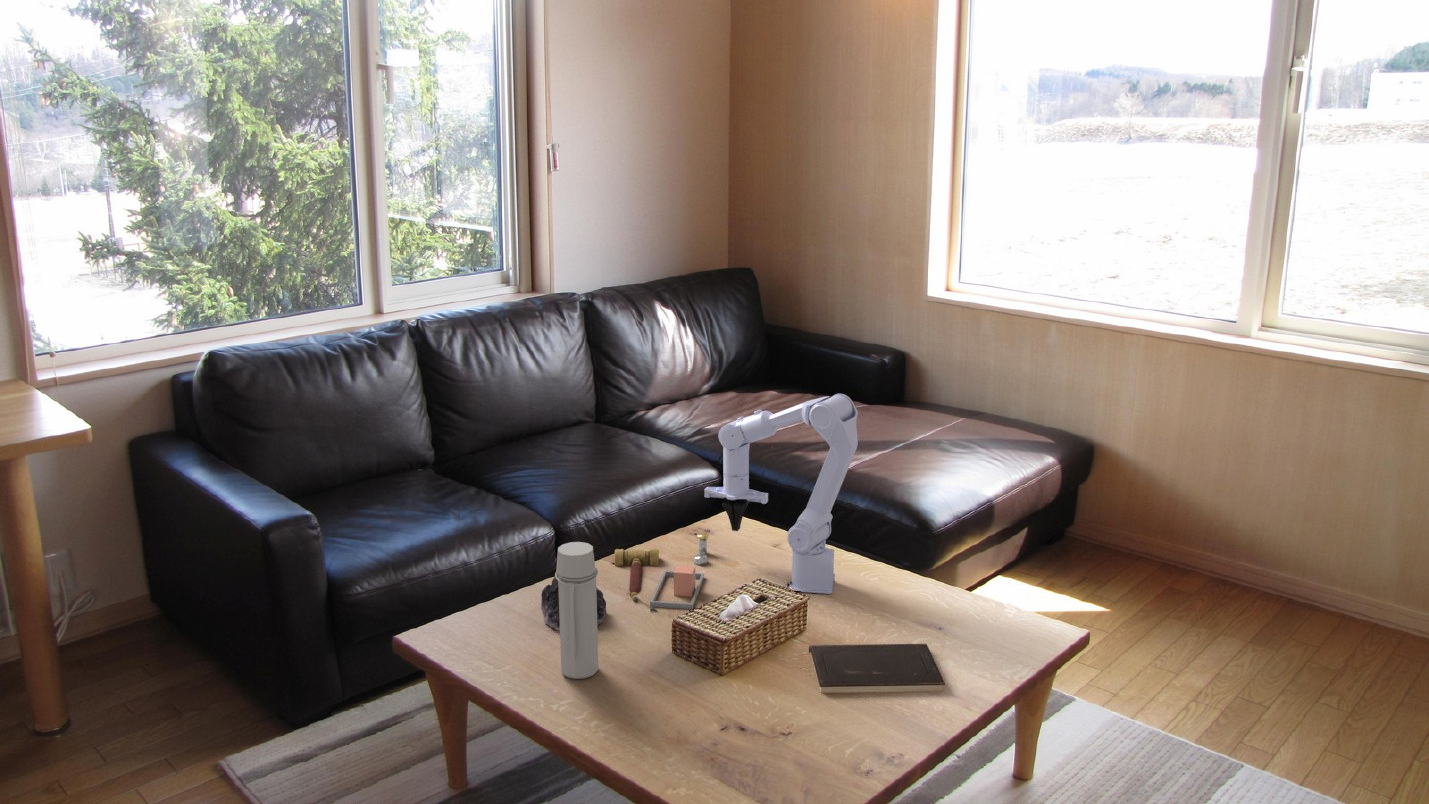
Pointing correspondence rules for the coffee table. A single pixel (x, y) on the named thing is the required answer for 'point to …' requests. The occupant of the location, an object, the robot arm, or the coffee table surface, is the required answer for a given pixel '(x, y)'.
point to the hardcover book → (875, 668)
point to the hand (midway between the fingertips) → (736, 529)
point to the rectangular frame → (673, 604)
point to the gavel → (636, 565)
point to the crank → (701, 549)
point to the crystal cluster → (552, 605)
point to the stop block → (684, 580)
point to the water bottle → (577, 609)
